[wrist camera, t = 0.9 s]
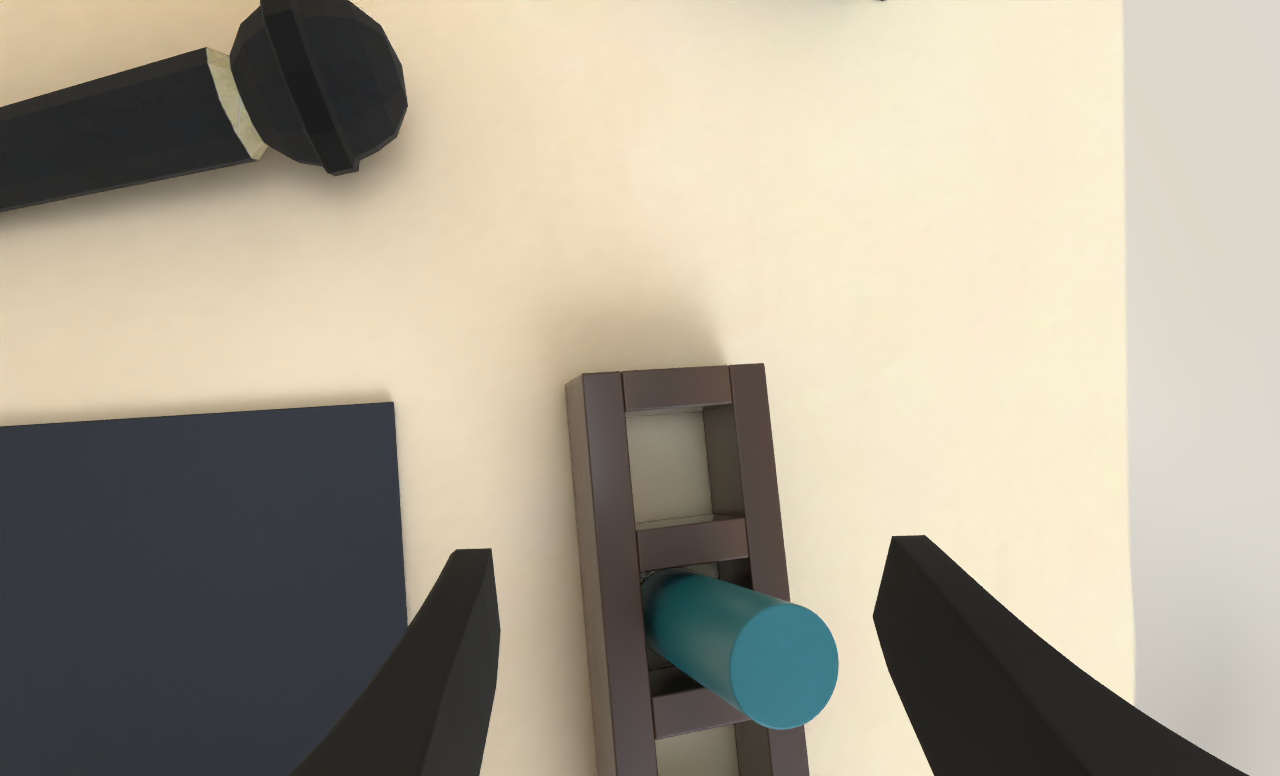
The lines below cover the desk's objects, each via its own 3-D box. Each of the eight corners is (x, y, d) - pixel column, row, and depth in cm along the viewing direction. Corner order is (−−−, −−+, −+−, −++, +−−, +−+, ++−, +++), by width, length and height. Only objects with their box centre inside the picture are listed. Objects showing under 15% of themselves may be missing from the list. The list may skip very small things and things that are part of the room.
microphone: (-175, 318, 24) (430, 156, 28) (-348, 347, 19) (430, 141, 23) (-279, 147, 23) (377, -1, 27) (-498, 125, 17) (364, -56, 21)
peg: (716, 647, 29) (846, 717, 20) (636, 661, 28) (736, 742, 19) (707, 562, 29) (832, 595, 20) (628, 572, 28) (723, 613, 19)
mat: (427, 950, 24) (427, 957, 24) (-19, 1071, 21) (-27, 1082, 21) (393, 403, 26) (393, 401, 26) (-24, 429, 23) (-31, 428, 22)
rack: (731, 374, 30) (764, 362, 27) (780, 834, 28) (820, 873, 26) (564, 384, 28) (581, 373, 25) (606, 880, 26) (629, 928, 24)
